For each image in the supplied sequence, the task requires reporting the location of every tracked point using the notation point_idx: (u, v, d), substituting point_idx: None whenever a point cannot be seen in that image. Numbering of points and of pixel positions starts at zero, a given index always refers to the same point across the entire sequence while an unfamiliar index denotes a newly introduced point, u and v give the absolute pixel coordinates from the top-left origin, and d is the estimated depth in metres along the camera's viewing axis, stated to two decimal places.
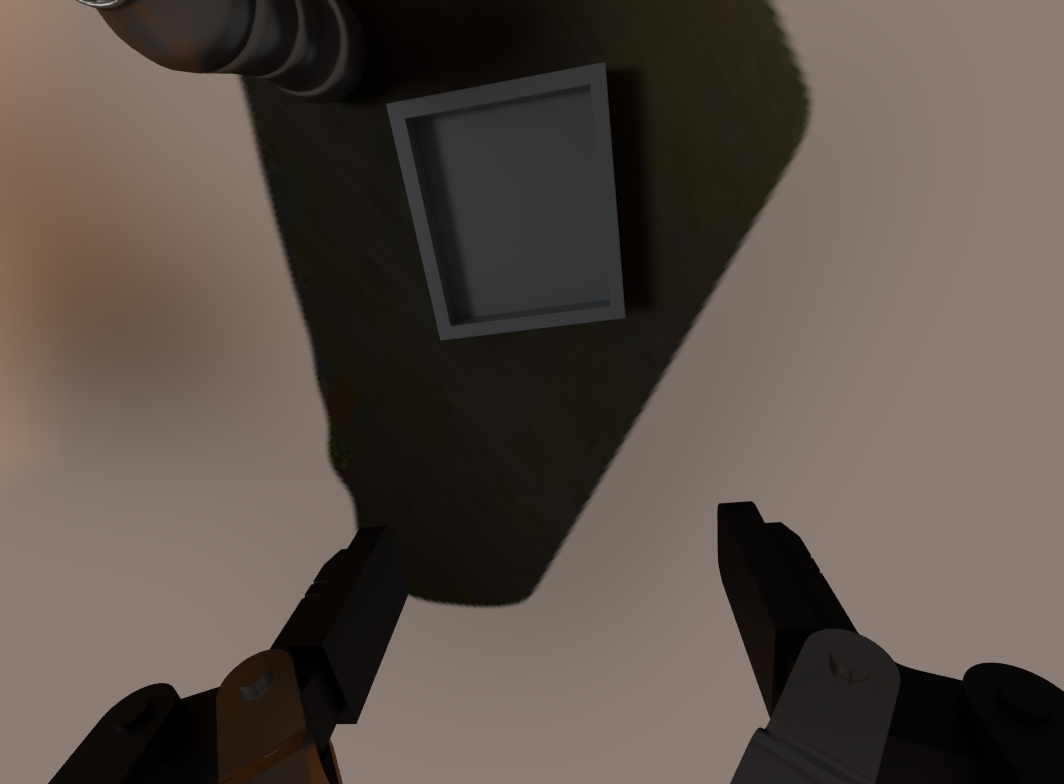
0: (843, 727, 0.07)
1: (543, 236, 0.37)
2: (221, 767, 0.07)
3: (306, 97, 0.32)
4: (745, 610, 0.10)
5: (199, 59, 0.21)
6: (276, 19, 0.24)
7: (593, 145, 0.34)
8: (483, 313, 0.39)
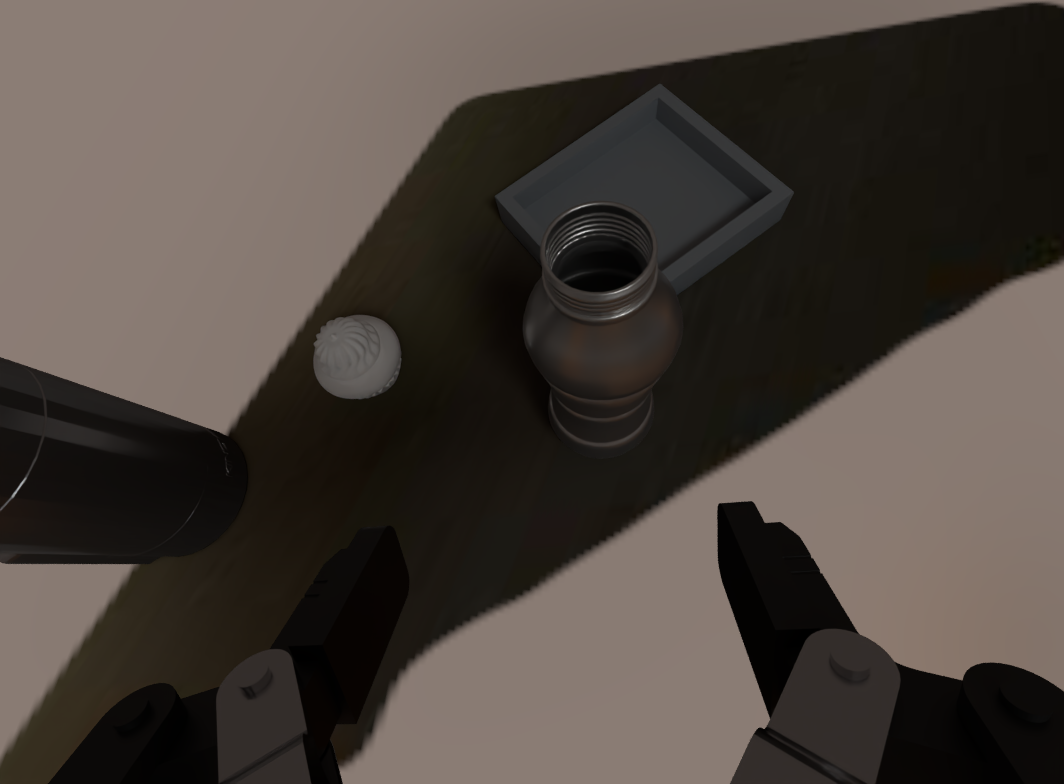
0: (842, 728, 0.07)
1: (638, 185, 0.39)
2: (220, 767, 0.07)
3: None
4: (745, 610, 0.10)
5: None
6: None
7: (551, 191, 0.40)
8: (740, 192, 0.38)
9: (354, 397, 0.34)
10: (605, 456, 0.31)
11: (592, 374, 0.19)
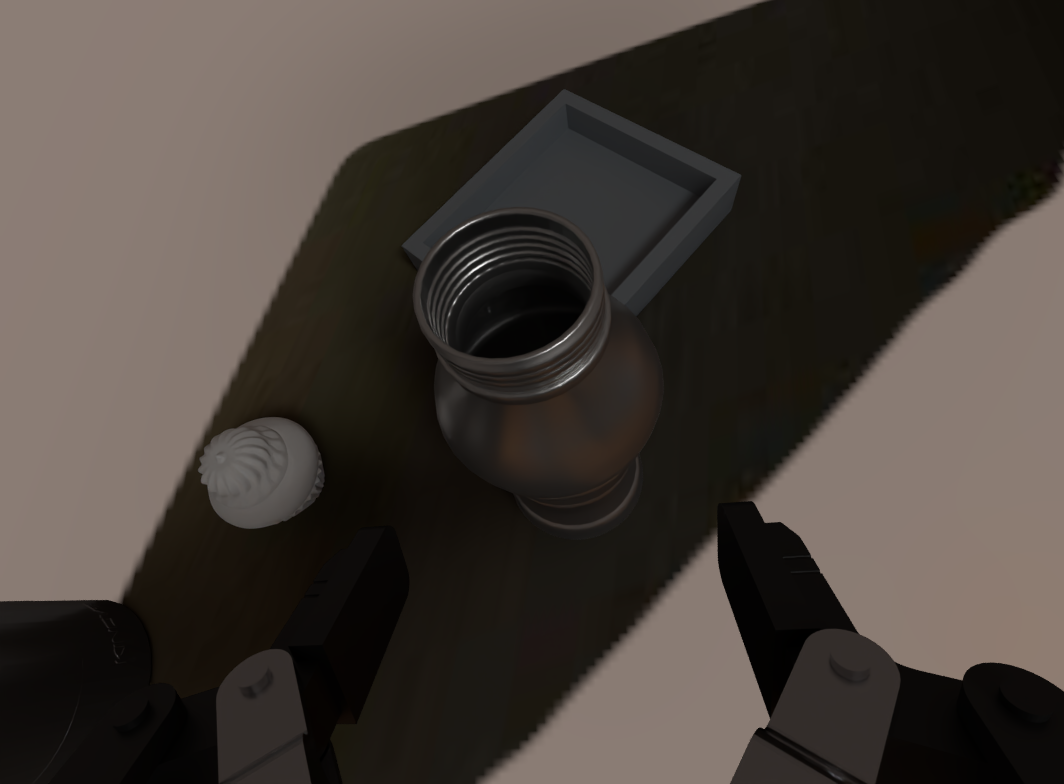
0: (841, 728, 0.07)
1: (565, 203, 0.34)
2: (221, 767, 0.07)
3: None
4: (745, 610, 0.10)
5: None
6: None
7: None
8: (680, 188, 0.33)
9: (266, 525, 0.26)
10: (595, 535, 0.24)
11: (546, 468, 0.12)
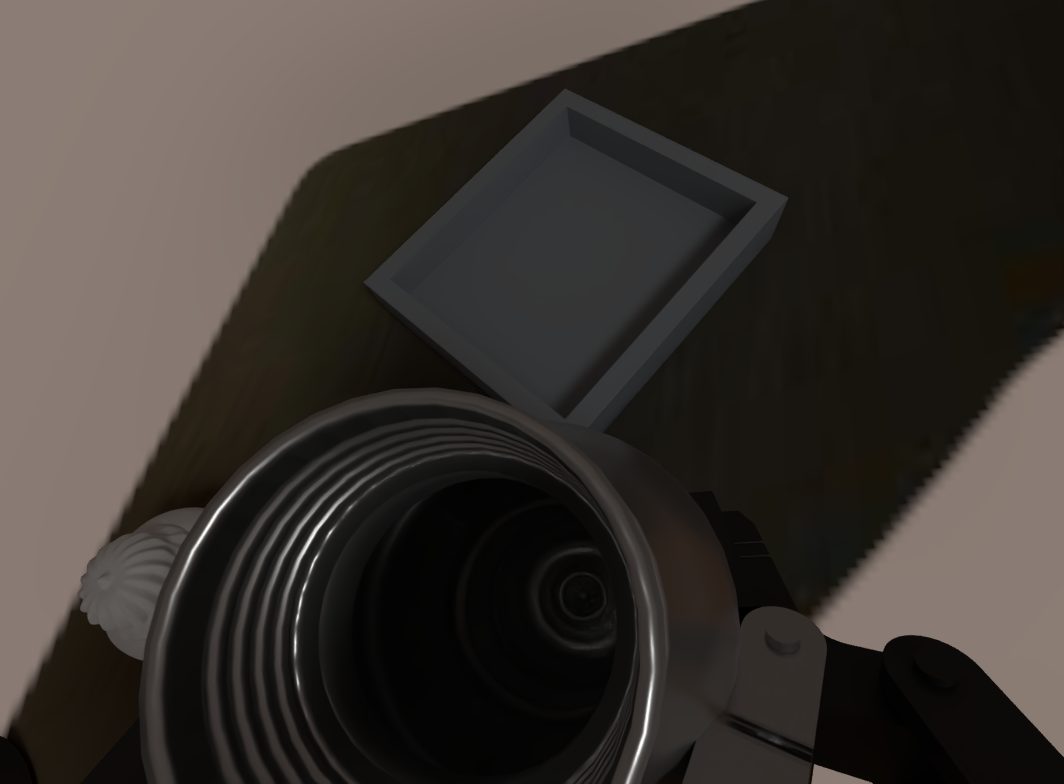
0: (782, 698, 0.07)
1: (566, 228, 0.28)
2: None
3: None
4: None
5: (622, 442, 0.08)
6: None
7: (447, 258, 0.28)
8: (707, 212, 0.27)
9: None
10: None
11: None
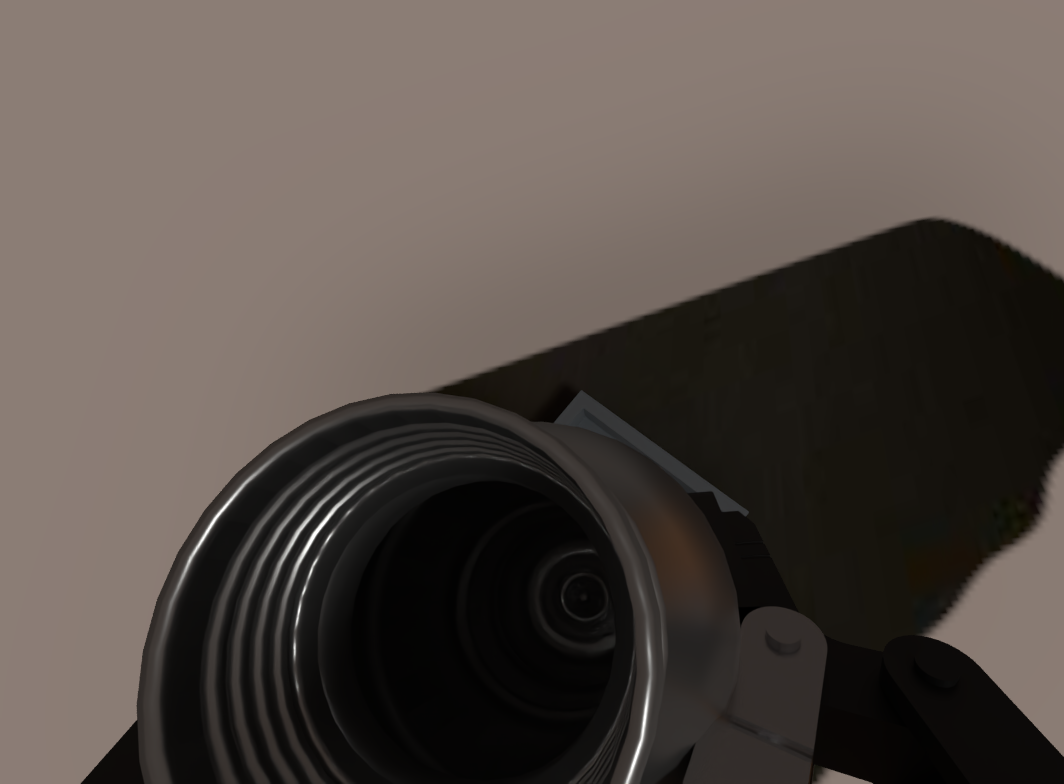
0: (782, 698, 0.07)
1: None
2: None
3: None
4: None
5: (621, 443, 0.08)
6: None
7: None
8: None
9: None
10: None
11: None
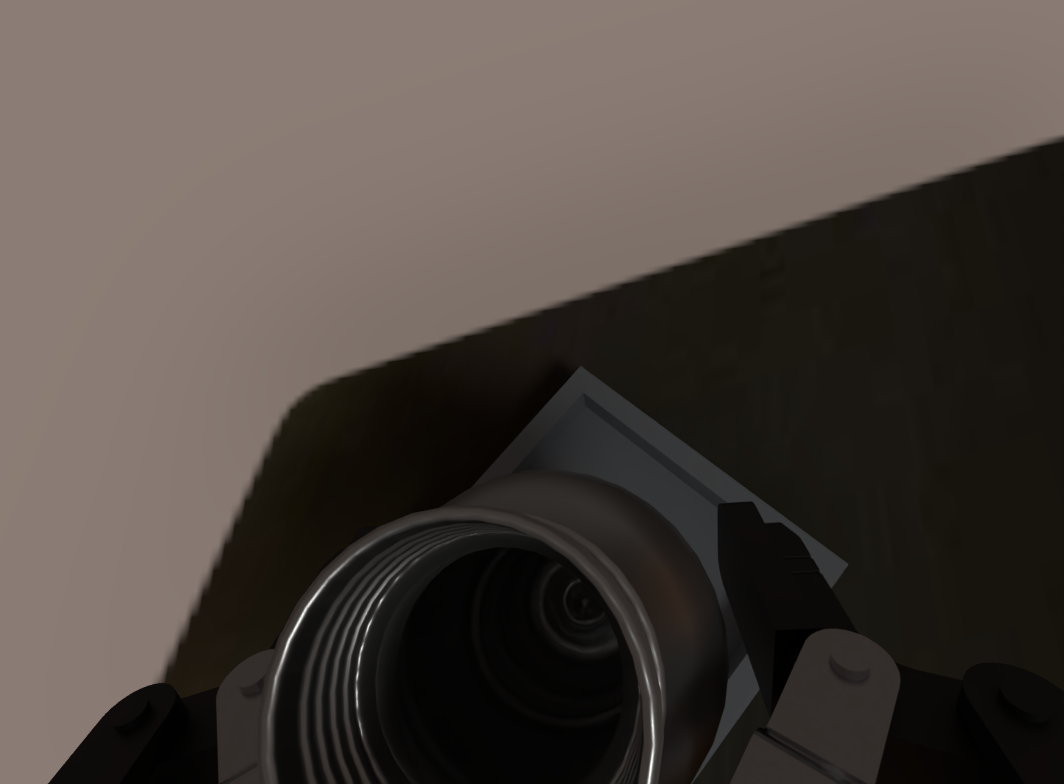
0: (842, 728, 0.07)
1: None
2: (221, 767, 0.07)
3: None
4: (745, 610, 0.10)
5: (624, 492, 0.09)
6: None
7: None
8: None
9: None
10: None
11: None
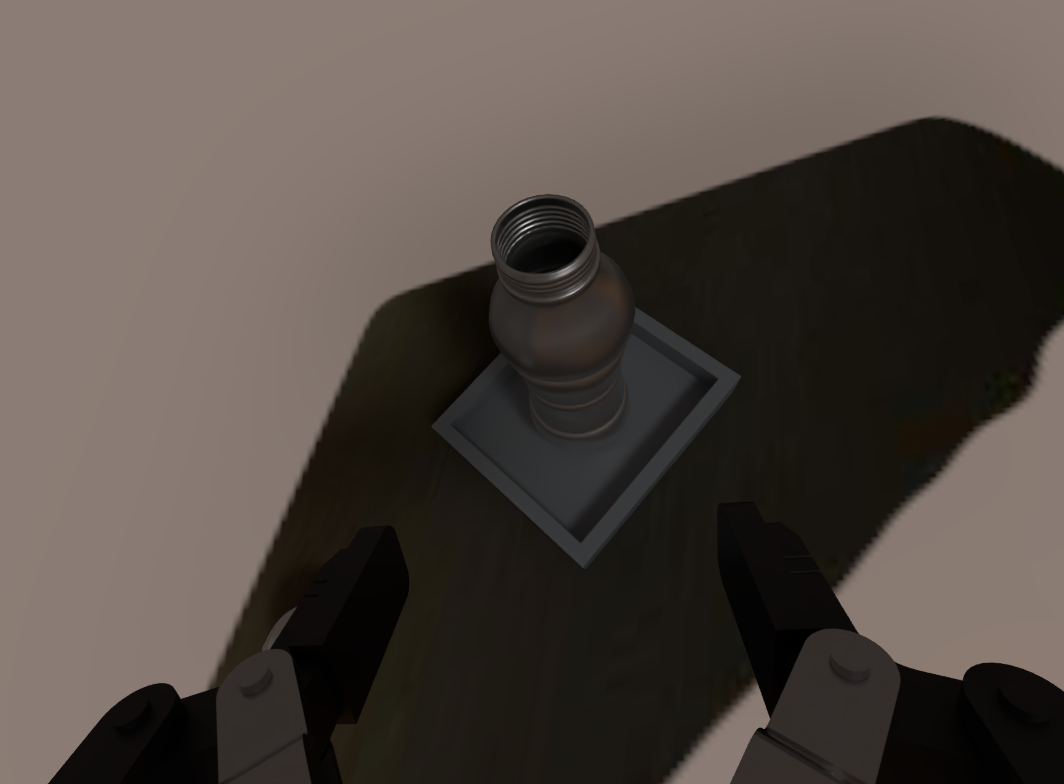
0: (842, 728, 0.07)
1: None
2: (221, 768, 0.07)
3: None
4: (745, 610, 0.10)
5: None
6: None
7: (490, 400, 0.38)
8: (685, 373, 0.36)
9: None
10: (593, 446, 0.32)
11: (561, 355, 0.21)
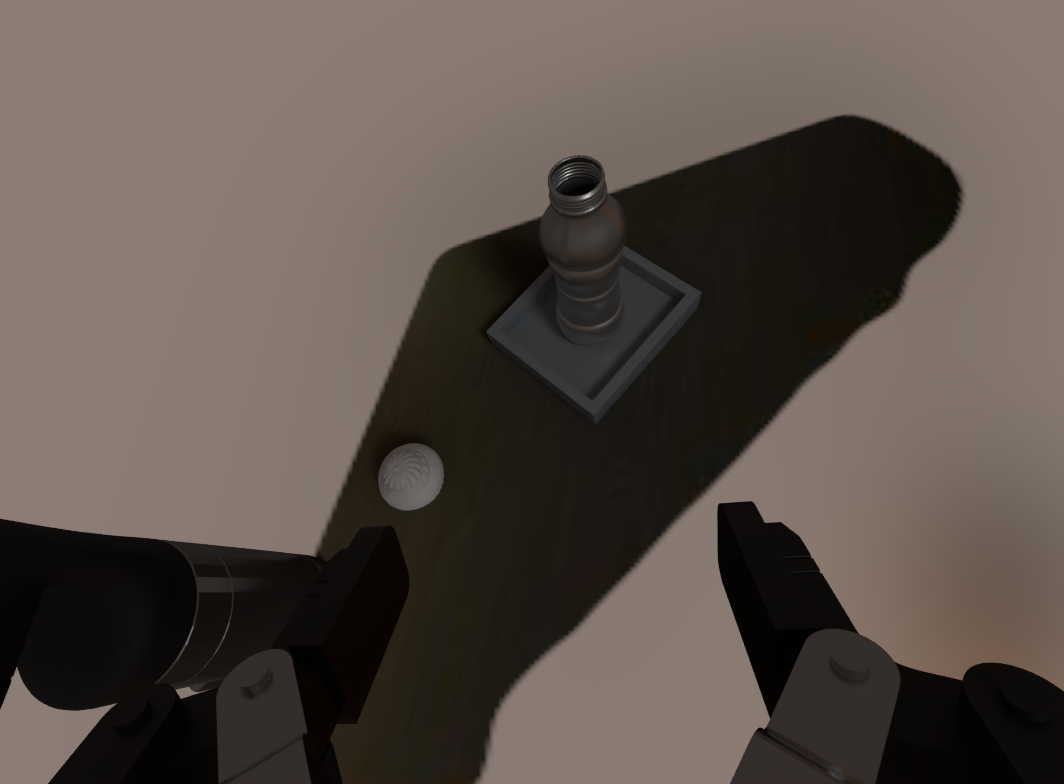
0: (843, 727, 0.07)
1: None
2: (221, 768, 0.07)
3: None
4: (745, 610, 0.10)
5: None
6: None
7: (526, 316, 0.53)
8: (664, 294, 0.51)
9: (416, 508, 0.45)
10: (600, 338, 0.47)
11: (584, 250, 0.36)
